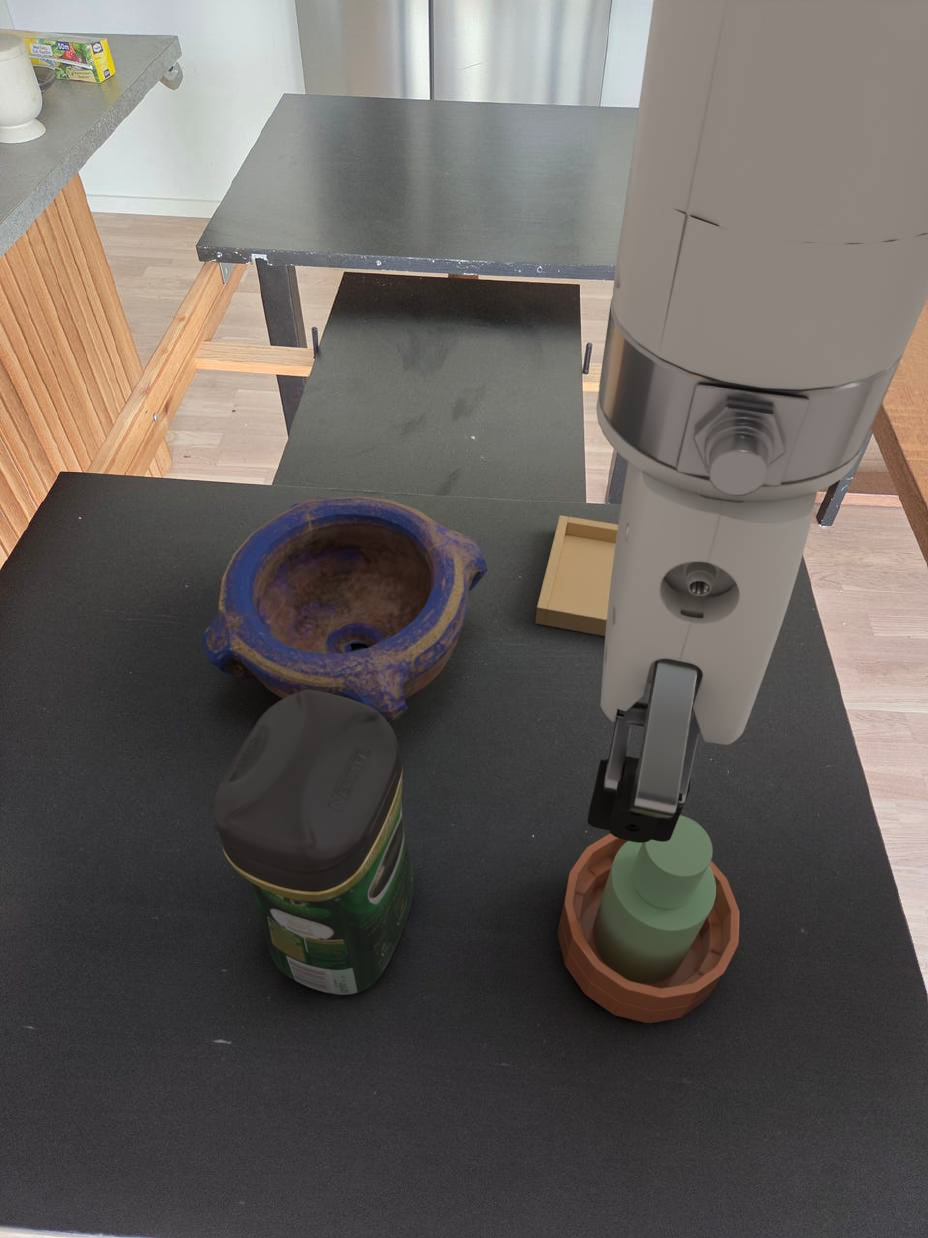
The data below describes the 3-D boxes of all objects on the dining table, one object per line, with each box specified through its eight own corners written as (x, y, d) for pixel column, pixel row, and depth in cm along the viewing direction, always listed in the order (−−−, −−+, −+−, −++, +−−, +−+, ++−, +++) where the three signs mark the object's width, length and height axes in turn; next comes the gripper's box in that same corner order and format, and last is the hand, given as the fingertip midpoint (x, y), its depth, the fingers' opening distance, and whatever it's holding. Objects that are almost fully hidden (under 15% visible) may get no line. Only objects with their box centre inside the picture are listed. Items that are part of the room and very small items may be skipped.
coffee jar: (318, 833, 56) (274, 657, 43) (429, 868, 55) (421, 697, 41) (249, 973, 50) (173, 821, 36) (373, 1018, 49) (341, 875, 35)
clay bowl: (721, 884, 54) (740, 848, 51) (715, 1044, 48) (737, 1016, 44) (570, 851, 56) (579, 813, 52) (545, 1001, 49) (553, 971, 46)
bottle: (688, 904, 53) (736, 808, 44) (682, 994, 49) (733, 910, 40) (599, 883, 54) (628, 785, 45) (587, 971, 50) (616, 883, 41)
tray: (732, 560, 74) (737, 544, 73) (728, 659, 67) (734, 643, 65) (557, 531, 77) (559, 514, 75) (535, 623, 69) (536, 607, 68)
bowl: (190, 700, 64) (155, 611, 56) (319, 553, 74) (304, 462, 67) (398, 793, 58) (390, 709, 51) (504, 621, 69) (510, 530, 62)
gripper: (916, 625, 17) (722, 945, 30) (858, 252, 28) (735, 600, 41) (551, 564, 18) (514, 896, 31) (635, 228, 30) (582, 574, 42)
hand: (640, 727), depth 36 cm, fingers open, 9 cm apart
